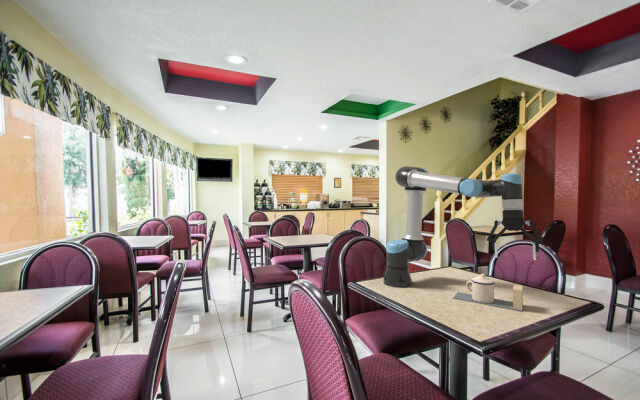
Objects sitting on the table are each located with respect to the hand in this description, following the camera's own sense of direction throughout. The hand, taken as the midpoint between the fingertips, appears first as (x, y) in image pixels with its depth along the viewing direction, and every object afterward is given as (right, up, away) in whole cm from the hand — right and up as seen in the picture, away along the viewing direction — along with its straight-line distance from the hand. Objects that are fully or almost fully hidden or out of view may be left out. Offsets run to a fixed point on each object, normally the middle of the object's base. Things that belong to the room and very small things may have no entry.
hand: (514, 258), depth 121 cm
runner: (-9, -20, +5) cm, 23 cm away
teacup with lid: (-11, -20, +7) cm, 24 cm away
